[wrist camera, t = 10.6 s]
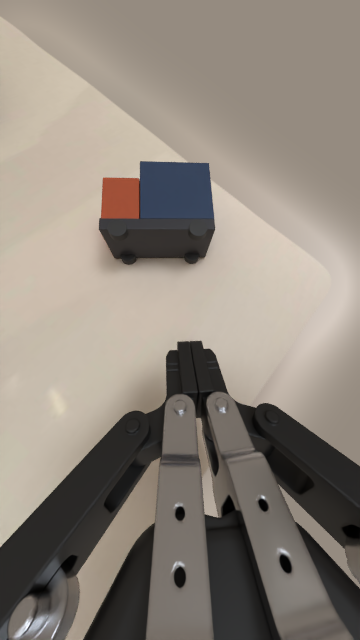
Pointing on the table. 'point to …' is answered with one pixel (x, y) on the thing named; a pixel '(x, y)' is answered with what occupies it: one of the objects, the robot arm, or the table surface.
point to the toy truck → (159, 212)
